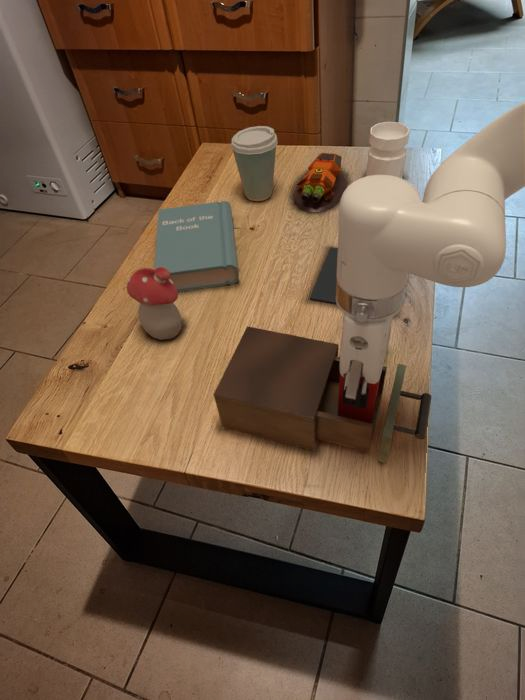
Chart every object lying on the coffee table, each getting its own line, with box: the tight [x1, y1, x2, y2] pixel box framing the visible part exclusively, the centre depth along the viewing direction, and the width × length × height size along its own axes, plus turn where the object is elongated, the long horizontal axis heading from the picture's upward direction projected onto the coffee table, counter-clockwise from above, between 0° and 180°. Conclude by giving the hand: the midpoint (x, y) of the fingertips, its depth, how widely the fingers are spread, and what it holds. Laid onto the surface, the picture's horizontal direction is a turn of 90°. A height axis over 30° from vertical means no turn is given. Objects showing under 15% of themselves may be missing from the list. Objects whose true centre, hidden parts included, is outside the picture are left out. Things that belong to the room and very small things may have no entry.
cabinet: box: [213, 326, 339, 452], centre depth 74 cm, size 15×14×9 cm
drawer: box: [316, 356, 433, 463], centre depth 70 cm, size 18×13×7 cm
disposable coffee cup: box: [230, 125, 279, 202], centre depth 112 cm, size 11×11×15 cm
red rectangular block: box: [338, 369, 380, 424], centre depth 68 cm, size 5×4×12 cm
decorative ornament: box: [126, 267, 183, 341], centre depth 85 cm, size 9×7×15 cm
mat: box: [309, 246, 338, 305], centre depth 94 cm, size 16×16×1 cm
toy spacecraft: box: [292, 152, 348, 213], centre depth 114 cm, size 12×20×6 cm, turn 162°
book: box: [153, 200, 240, 293], centre depth 102 cm, size 23×16×5 cm
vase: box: [365, 121, 411, 179], centre depth 113 cm, size 9×9×12 cm
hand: (359, 385), depth 67 cm, fingers open, 5 cm apart
